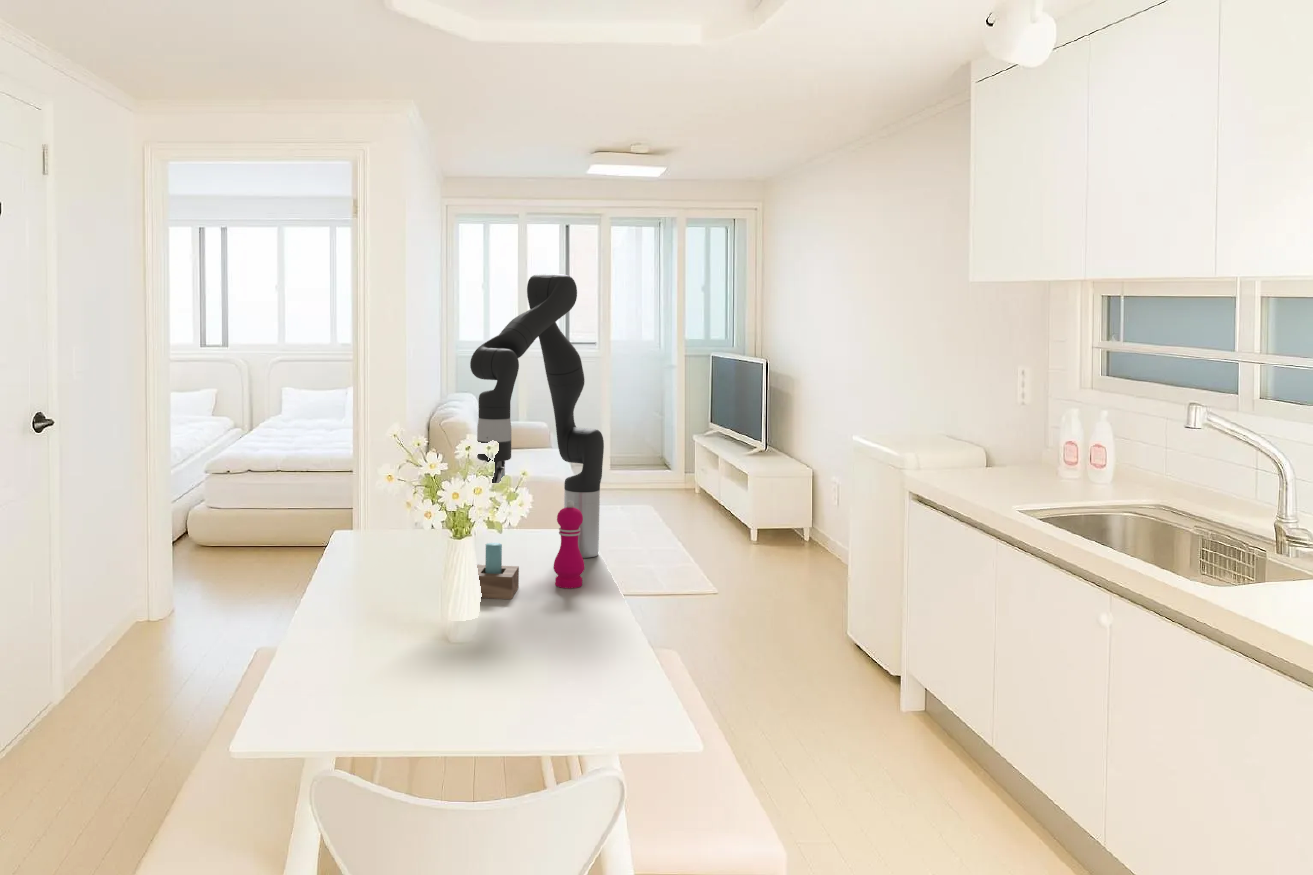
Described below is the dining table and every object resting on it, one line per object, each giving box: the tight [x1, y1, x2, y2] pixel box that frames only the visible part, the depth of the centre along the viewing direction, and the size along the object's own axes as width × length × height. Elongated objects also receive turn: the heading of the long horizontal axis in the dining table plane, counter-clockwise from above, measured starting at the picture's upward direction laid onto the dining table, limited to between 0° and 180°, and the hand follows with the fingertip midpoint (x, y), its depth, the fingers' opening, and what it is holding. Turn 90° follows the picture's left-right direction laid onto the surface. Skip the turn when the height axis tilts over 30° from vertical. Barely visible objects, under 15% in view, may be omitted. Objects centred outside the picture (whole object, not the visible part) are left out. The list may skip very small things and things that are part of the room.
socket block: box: [476, 564, 520, 600], centre depth 247 cm, size 10×10×5 cm
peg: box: [484, 542, 503, 574], centre depth 247 cm, size 4×4×10 cm
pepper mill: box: [553, 501, 586, 589], centre depth 255 cm, size 7×7×20 cm
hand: (493, 509), depth 245 cm, fingers open, 8 cm apart
